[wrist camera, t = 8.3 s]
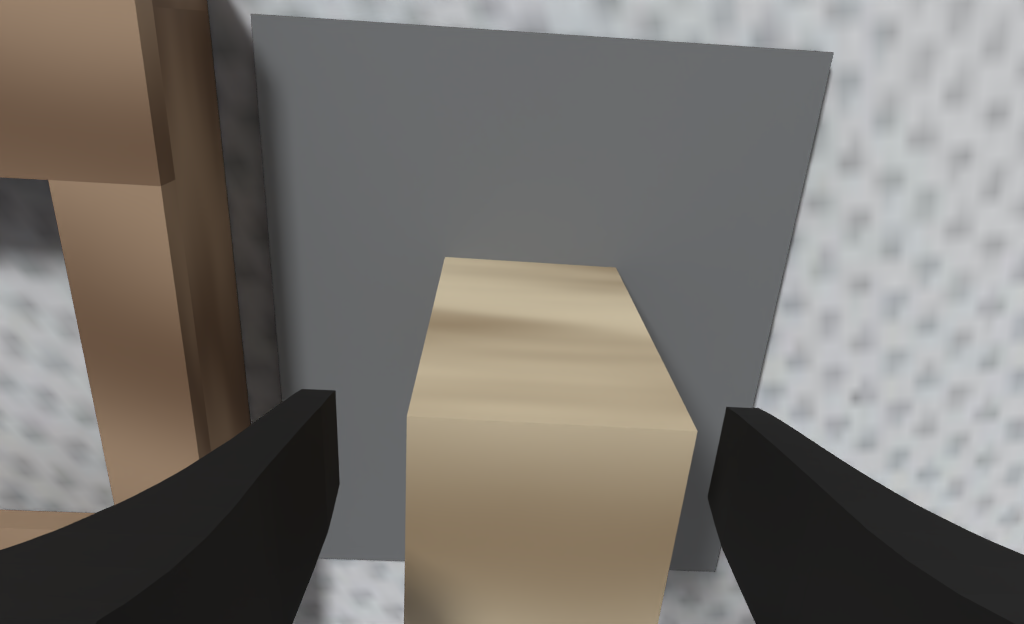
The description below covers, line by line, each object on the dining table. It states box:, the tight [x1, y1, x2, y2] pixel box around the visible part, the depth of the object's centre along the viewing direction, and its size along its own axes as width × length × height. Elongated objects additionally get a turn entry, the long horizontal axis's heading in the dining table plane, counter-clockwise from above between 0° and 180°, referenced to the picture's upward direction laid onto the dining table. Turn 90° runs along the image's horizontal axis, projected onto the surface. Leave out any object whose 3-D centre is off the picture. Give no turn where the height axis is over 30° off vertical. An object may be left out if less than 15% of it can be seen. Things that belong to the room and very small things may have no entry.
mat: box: [251, 14, 834, 572], centre depth 17 cm, size 14×12×1 cm
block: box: [404, 257, 698, 624], centre depth 13 cm, size 4×4×7 cm
